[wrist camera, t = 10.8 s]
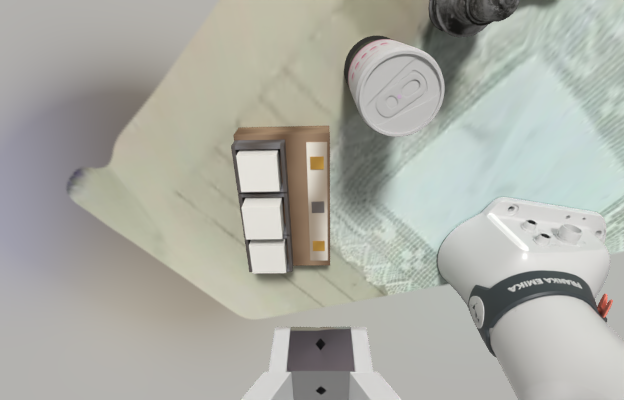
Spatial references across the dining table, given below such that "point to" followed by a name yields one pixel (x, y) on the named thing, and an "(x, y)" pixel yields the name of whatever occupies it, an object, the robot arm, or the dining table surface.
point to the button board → (296, 187)
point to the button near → (259, 170)
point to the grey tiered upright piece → (468, 14)
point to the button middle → (263, 218)
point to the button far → (268, 255)
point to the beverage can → (394, 85)
